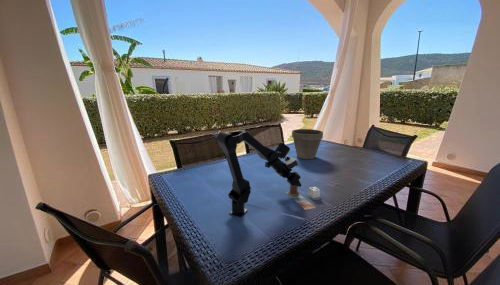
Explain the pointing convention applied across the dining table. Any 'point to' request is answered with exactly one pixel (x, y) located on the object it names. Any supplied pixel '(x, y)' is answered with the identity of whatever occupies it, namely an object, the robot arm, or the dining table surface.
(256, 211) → the dining table surface
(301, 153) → the plant pot
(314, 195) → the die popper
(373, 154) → the dining table surface
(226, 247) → the dining table surface
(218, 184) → the dining table surface
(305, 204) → the board
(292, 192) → the pawn
